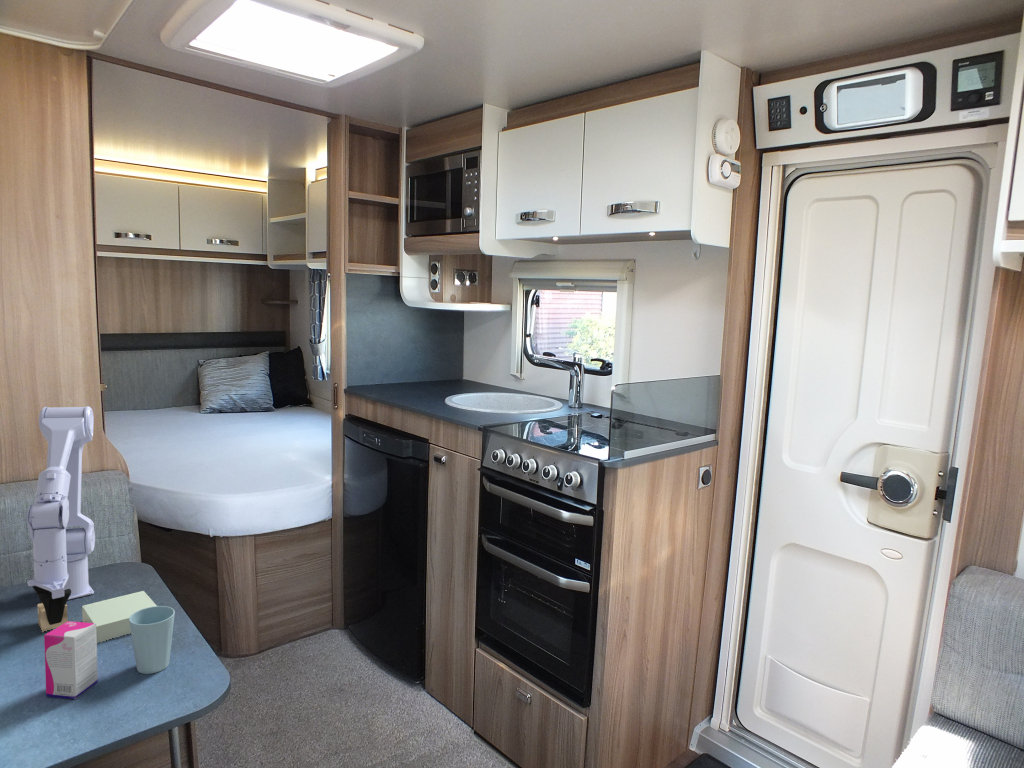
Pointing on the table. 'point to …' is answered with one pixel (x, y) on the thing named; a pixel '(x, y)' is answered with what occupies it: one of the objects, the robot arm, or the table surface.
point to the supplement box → (70, 659)
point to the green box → (115, 614)
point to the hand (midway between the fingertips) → (52, 618)
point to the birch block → (44, 622)
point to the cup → (152, 637)
